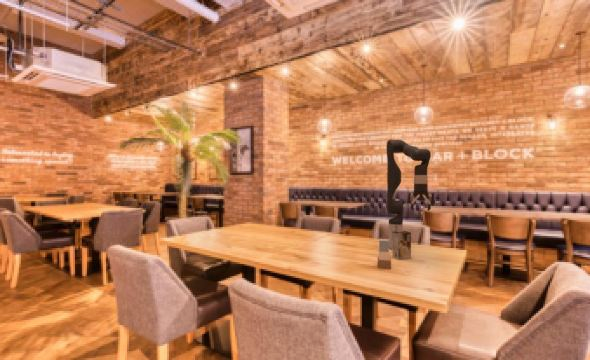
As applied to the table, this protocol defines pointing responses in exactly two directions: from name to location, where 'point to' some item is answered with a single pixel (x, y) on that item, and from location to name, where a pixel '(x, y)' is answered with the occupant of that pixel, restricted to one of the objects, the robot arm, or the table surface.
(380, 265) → the tower base
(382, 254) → the tower top
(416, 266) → the table surface
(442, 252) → the table surface
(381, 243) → the slate block
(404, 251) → the coffee box
